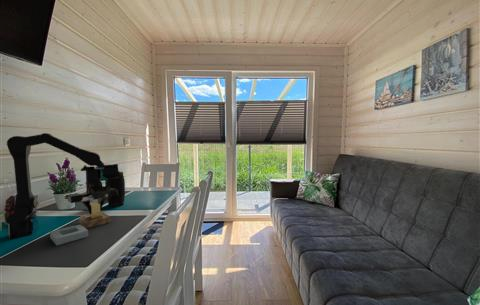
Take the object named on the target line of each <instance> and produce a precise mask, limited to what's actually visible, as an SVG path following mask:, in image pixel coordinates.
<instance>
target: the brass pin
mask: <svg viewBox="0 0 480 305" xmlns="http://www.w3.org/2000/svg"><path fill="white" fill-rule="evenodd" d="M90 208H91V214H89V213H88V216H89V220H93V219H97V218H101V216H100V213H101V212H100V203H98V202H97V203H91V204H90Z"/></svg>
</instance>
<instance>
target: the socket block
mask: <svg viewBox="0 0 480 305" xmlns="http://www.w3.org/2000/svg"><path fill="white" fill-rule="evenodd" d="M88 237H89V230H88V228H85V227H83V226H82V225H81V224H79V223H78V224H76V225H72V226H67V227H64V228H60V229H59V228H58V229H55V230H51V231H49V238H50V240H51V241H52V242H53V243H54V245H55V246H59V245H60V246H61V245H63V244H67V243H71V242H74V241H78V240H81V239H84V238H88Z"/></svg>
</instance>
